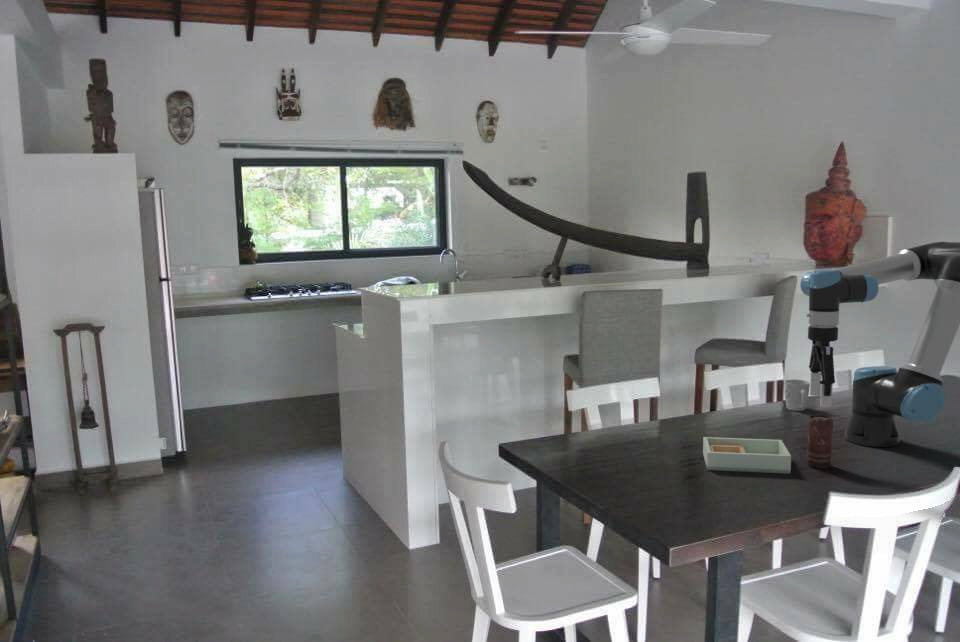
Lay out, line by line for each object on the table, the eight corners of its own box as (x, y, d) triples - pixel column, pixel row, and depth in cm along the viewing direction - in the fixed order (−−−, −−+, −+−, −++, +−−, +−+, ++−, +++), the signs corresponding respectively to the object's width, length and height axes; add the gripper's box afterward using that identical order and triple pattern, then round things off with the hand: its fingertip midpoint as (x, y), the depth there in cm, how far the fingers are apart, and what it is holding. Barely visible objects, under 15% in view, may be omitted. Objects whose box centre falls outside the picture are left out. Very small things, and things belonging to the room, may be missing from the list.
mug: (816, 413, 264) (817, 386, 262) (792, 414, 264) (793, 386, 262) (802, 405, 275) (803, 379, 273) (779, 406, 275) (780, 379, 274)
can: (833, 469, 207) (836, 420, 205) (809, 468, 208) (811, 420, 206) (828, 462, 213) (830, 414, 211) (804, 461, 214) (806, 414, 212)
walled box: (780, 456, 219) (781, 439, 219) (790, 473, 205) (791, 456, 204) (703, 453, 224) (703, 437, 223) (707, 469, 209) (707, 452, 209)
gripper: (799, 319, 218) (797, 390, 221) (818, 332, 194) (815, 412, 197) (827, 319, 216) (824, 390, 219) (849, 333, 192) (846, 412, 195)
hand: (820, 401), depth 208 cm, fingers open, 13 cm apart
